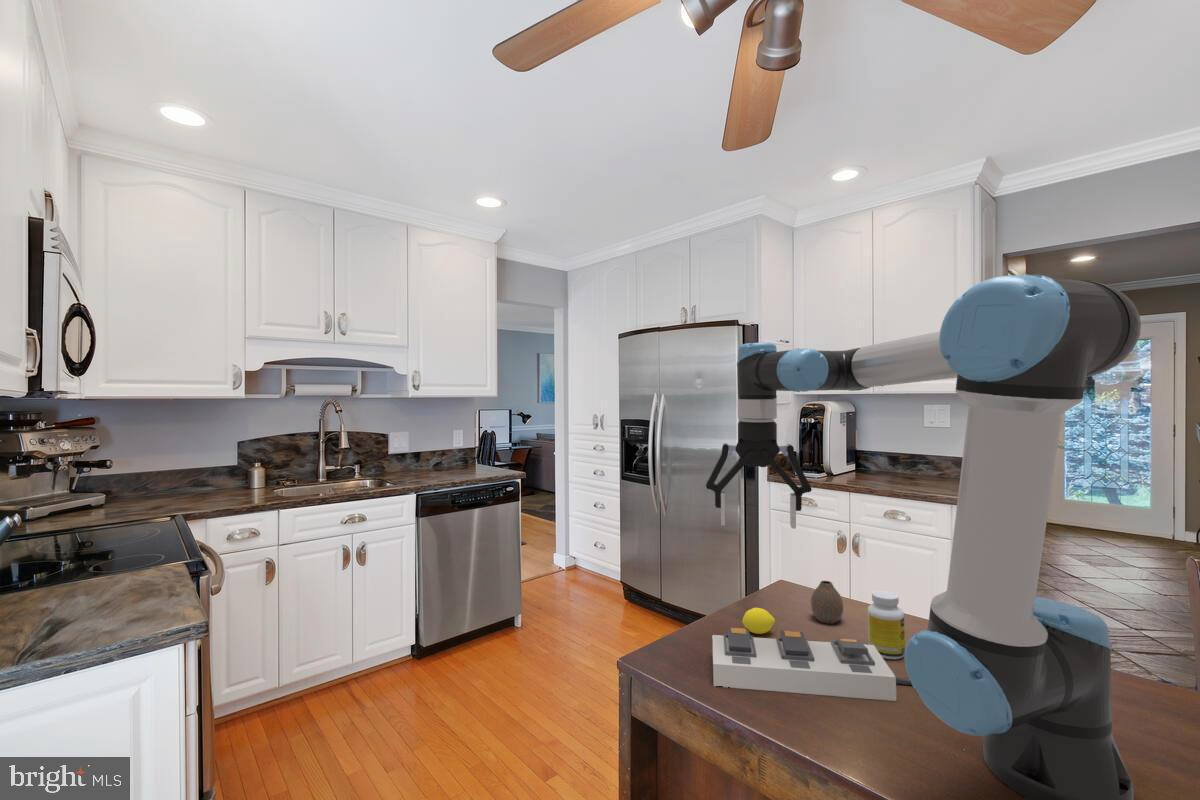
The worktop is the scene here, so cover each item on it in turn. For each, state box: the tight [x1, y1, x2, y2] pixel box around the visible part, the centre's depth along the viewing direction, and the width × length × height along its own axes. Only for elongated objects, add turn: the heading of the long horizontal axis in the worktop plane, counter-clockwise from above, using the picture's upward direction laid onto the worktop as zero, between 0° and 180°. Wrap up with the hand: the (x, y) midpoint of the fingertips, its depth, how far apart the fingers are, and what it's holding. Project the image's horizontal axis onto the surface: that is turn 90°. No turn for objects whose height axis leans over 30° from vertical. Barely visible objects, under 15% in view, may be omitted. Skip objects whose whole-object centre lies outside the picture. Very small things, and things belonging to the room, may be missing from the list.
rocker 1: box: [727, 626, 751, 653], centre depth 101 cm, size 6×4×1 cm, turn 169°
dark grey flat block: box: [780, 630, 809, 656], centre depth 99 cm, size 6×4×1 cm, turn 169°
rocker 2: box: [835, 638, 868, 655], centre depth 97 cm, size 6×4×1 cm, turn 168°
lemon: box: [741, 607, 776, 635], centre depth 116 cm, size 7×5×5 cm
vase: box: [810, 580, 844, 625], centre depth 122 cm, size 7×7×9 cm
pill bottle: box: [867, 590, 906, 660], centre depth 106 cm, size 6×6×12 cm
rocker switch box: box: [711, 633, 913, 702], centre depth 97 cm, size 12×40×5 cm, turn 79°
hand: (757, 525), depth 107 cm, fingers open, 13 cm apart
